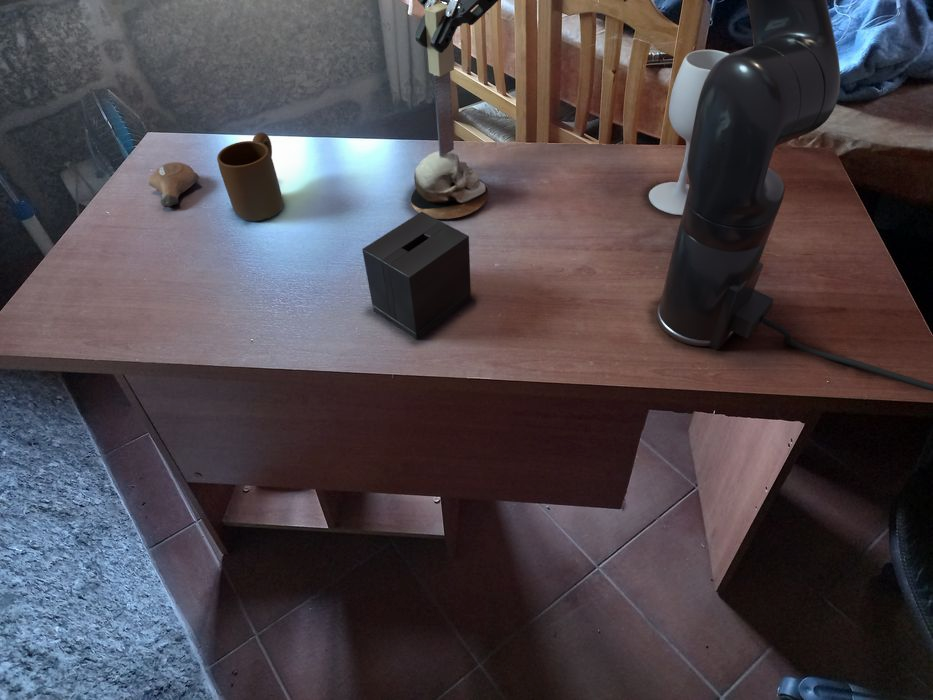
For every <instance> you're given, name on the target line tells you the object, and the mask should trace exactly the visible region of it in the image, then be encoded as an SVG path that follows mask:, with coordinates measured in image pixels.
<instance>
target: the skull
mask: <svg viewBox="0 0 933 700" xmlns="http://www.w3.org/2000/svg"><path fill="white" fill-rule="evenodd" d="M413 179H414V186H415V188H414V190H413V192H412V194H411V197H410V204H411V206H412V208H413V209H414V210H415V211H416V212H417V213H420V212H424V213H426V214H428V215H430V216H432V217H433V218H435V219H437V220H440V219H441V220H449V219H455V218H460V217H464V216H468V215H470V214H472V213H473V212H476V211H478V209H480V208H481V207H483V206H484V204H485V203H486V202H487V200H488V196H489V189H488V187H487V185H486V183H485V182H484V181H482V180H481V179H480V175H479V174H478V172H477V171H475V170H474V169H473V168H472V167H470V166H468V163H467V162H466V161H460V157H459V155H458V153H455V152H453V151H450V152H448V153H447V154H445V155H443V156H442V157H440V156H439V150H436V151H433V152H431V153H429V154H428V155H427V156H426V157H424V158H423V159H421V161H420V162H419V163H418V165H417V166H416V168H415V169H414V177H413Z"/></svg>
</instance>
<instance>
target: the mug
mask: <svg viewBox="0 0 933 700" xmlns="http://www.w3.org/2000/svg"><path fill="white" fill-rule="evenodd" d="M272 157H273V146H272V141H271V139H270V137H269V135H268V134H266V133H265V132H263V131H261V132H258V133H256V134H255V135H254V137H253V139H252V140H245V141H238V142H235V143H232V144H229V145H227V146H225V147H224V148H222V149H221V150H220V151H219V152H218V153H217V157H216V161H217V163H218V169H219V172H220V175H221V178H222V181H223V184H224V187H225V190H226V192H227V196H228V199H229V201H230V204H231V207H232V210H233V212H234V213H235V215H236V216H237V217H238V218H240V219H242V220H244V221H250V222H259V221H263V220H268V219H270V218H272V217H274V216H276V215H277V214H278V213H279V212H280V211H281V209H282V208H283V205H284V198H283V194H282V190H281V186H280V183H279V180H278V175H277V172H276V168H275V165H274V164H275V163H274V161H273V158H272Z"/></svg>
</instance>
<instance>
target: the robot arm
mask: <svg viewBox="0 0 933 700" xmlns="http://www.w3.org/2000/svg"><path fill="white" fill-rule="evenodd" d="M417 1H418V2H419V4H420V5H421V6H422V7H423V8H424V9H426V8H428V7H430V6H433V5H435V4H437V3H443V4H446V5H448V6H447V9H446V12H445V14H446V17H444V16H442V18H441V20H440V23H439V25H438V27H437V28H436V31H435V33H434V35H433V37H432V39H431V41H430V45H431V47H433V48H434V49H435V50H436V51H437V52H440V53H442V52H443V51H444V50H445V49H446V48H447V47H448V46H449V44H450V41H451V40H452V38H453V37H454V35H455V33H456V32H457V30H458V27H461V26H462V25H464V24H467V25H469V26H473V25H474V24H476V23H477V21H479V20H480V19H481V18H482V17H483V16H484V15H485V14H486V13H487V12H488V11H490V9H491V8H492V7H493V6H495V4H497V3H498V2H499V0H417ZM746 4H747V8H748V13H749V19H750V25H751V34H752V46H749V47H745V48H743V49H740V50H736V51H734V52H732V53H731V52H730V53H728V54H729V55H727V56H725V57H723V58H722V59H720V60H719V61H718V62H717V63H716V64H715V65H714V66H713V68H712V69H711V70H710V72H709V74H708V75H707V77H706V80H705V82H704V84H703V87H702V90H701V93H700V97H699V100H698V105H697V110H696V115H695V121H694V126H693V132H692V137H691V143H690V149H689V154H688V162H687V172H688V175H687V179H688V184H689V189H688V193H687V197H686V201H685V205H684V209H683V213H682V215H681V218H680V221H679V226H678V230H677V234H676V237H675V242H674V245H673V250H672V253H671V258H670V261H669V266H668V270H667V273H666V278H665V280H664V281H665V282H664V285H663V290H662V294H661V296H660V300H659V303H658V306H657V309H656V310H657V311H656V319H657V322H658V324H659V326H660V327H661V329H662V330H663V331H664V332H665V333H666V334H667V335H668V336H670V337H671V338H672V339H674V340H676V341H678V342H681V343H683V344H686V345H690V346H695V347H709V348H712V349H714V350H720V349H721V347H723V345H724V344H725V343H726V342H727V341H728V340H729V339H730V338H731V337H732V336H733V334H734V333H735V334H737V335H738V336H740V337H743V338H745V339H748V338H749V337H750V336H751V335H752V333H753V332H755V330H756V329H757V328H758V327H759V325H760V324H761V323H762V324H763V325H765V326H767V327H768V328H770V329H772V330H774V331H776V332H777V333H779V334H780V335H781V336H783V341H784V342H785V343H786V344H787V345H788V346H790V347H791V348H794V349H797V350H799V351H801V352H802V351H803V352H805V353H809V354H810V355H811V354H812V355H814V356H817V357H820V358H823V359H825V360H829V361H832V362H836V363H839V364H844V365H847V366H850V367H853V368H856V369H860V370H863V371H866V372H869V373H873V374H876V375H879V376H881V377H885V378H888V379H891V380H895V381H897V382H901V383H904V384H908V385H911V386H914V387H916V388H921V389H925V390H928V391H931V392H933V383H931V382H927V381H924V380H921V379H916V378H914V377H911V376H907V375H903V374H901V373H897V372H894V371H891V370H887V369H884V368H881V367H878V366H875V365H871V364H869V363H866V362H862V361H859V360H857V359H852V358H849V357H845V356H841V355H837V354H833V353H830V352H825V351H822V350H819V349H815V348H812V347H809V346H806V345H804V344H802V343H800V342H798V341H796V340H794V339H793V338H792V334H791V333H790V332H789V330H787V329H786V328H784V327H783V326H782V325H780V324H778V323H776V322H775V321H773V320H771V319H769V318H767V316H768V315H769V313H770V310H771V309H772V305H773V303H774V301H775V298H774V297H772V296H769V295H767V294H765V293H763V292H760V291H759V290H756V286H757V284H758V281H759V278H760V275H761V273H762V270H763V268H764V263H763V262H761V258H762V255H763V253H764V250H765V248H766V245H767V242H768V239H769V236H770V234H771V231H772V230H773V226H774V223H775V221H776V218H777V216H778V213H779V211H780V208H781V206H782V203H783V200H784V196H785V191H786V190H785V189H786V188H785V184H784V180H783V179H782V177H781V176H780V175H779V173H777V172H776V171H774V169H772V168H770V163H771V160H772V157H773V153H774V151H775V149H776V147H778V146H780V145H783V144H786V143H787V142H788V143H789V142H791V141H793V140H796V139H798V138H800V137H803V136H806V135H807V134H810V133H812V132H814V131H815V130H817V129H818V128H820V127H821V126H823V125H824V124H825V123H826V122H827V121H828V120H829V118H830V117H831V115H832V114H833V112H834V110H835V108H836V105H837V103H838V99H839V95H840V89H841V68H840V67H841V66H840V59H839V53H838V48H837V42H836V38H835V32H834V30H833V24H832V19H831V15H830V10H829V5H828V1H827V0H746ZM423 13H424V14H423V16H422V18H421V20H420V22H419V24H418V27H417V28H416V31H415V41H416V42H417V43H418V45H420V46H421V47H423V48H426V49H427V36H426V24H425V12H423Z"/></svg>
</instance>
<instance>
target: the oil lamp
mask: <svg viewBox="0 0 933 700" xmlns="http://www.w3.org/2000/svg"><path fill="white" fill-rule="evenodd" d="M199 179H200V176H199V174H198V173H197V172H195V170H194V169H193V168H192V167H191V166H190V165H188V164H187V163H184V162H178V161H174V162H167V163H164V164H162V165H161V166H160V167H158V168H157V169H156V170H155V171H154V173H153V174H152V175H151V176H150V177H149V179H148V181H147V184H148V185H149V186H150V187H152V188H153V189H155V190H156V191H157V192H159V193H161V194H162V195H161V199H160V205H161V206H163V207H164V208H169V207H172V206H175V205H177V204H179V203H180V201H179V197H180V196H181V194H183V193H184V192H186V191H188V189H190V188H191V187H192V186H193V185H194V184H195V183H197V182H199Z"/></svg>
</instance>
